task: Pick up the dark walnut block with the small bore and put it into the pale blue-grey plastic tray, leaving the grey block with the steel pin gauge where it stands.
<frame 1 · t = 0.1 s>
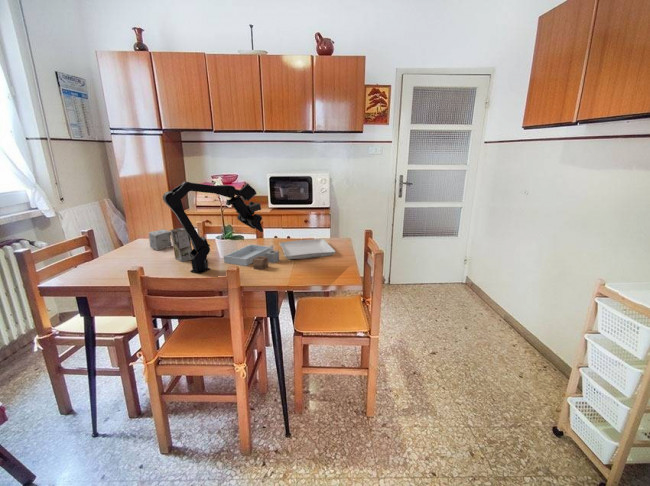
hand: (258, 230, 156), 15 cm above the table, tool tilted 30°, fingers open, 9 cm apart
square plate: (306, 252, 168), on the table
tray: (249, 257, 159), on the table
walnut block: (261, 267, 145), on the table
gauged block: (272, 261, 153), on the table
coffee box: (184, 259, 160), on the table
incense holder: (162, 248, 181), on the table
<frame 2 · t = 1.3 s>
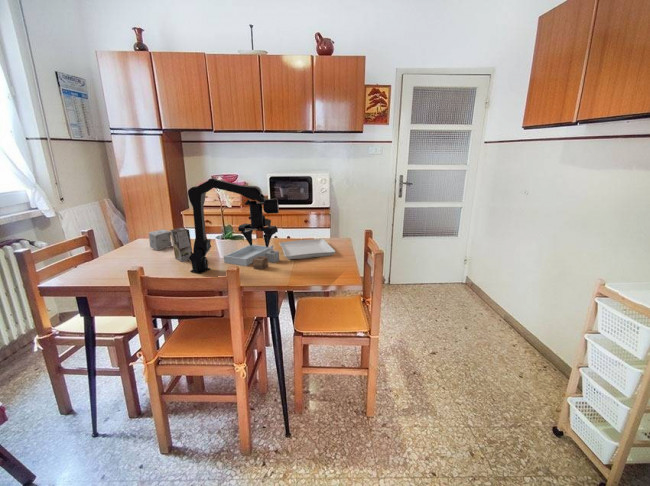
hand: (259, 246, 142), 11 cm above the table, tool pointing down, fingers open, 9 cm apart
nothing on the table moved.
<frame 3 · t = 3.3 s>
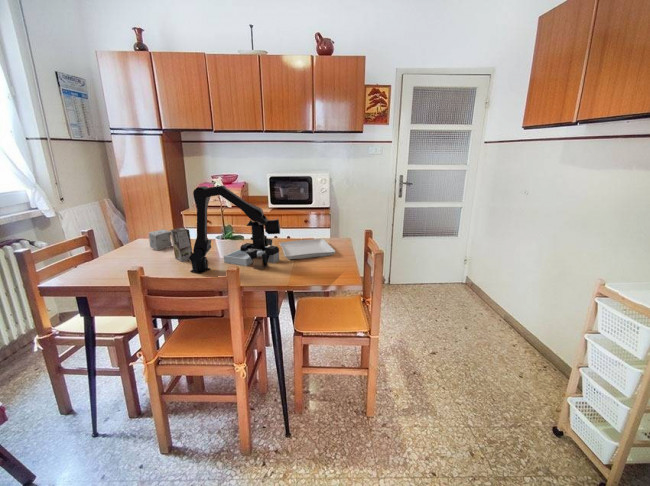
hand: (260, 265, 144), 1 cm above the table, tool pointing down, fingers closed on walnut block, 5 cm apart
walnut block: (261, 267, 145), on the table, touching gripper
everything else where it was.
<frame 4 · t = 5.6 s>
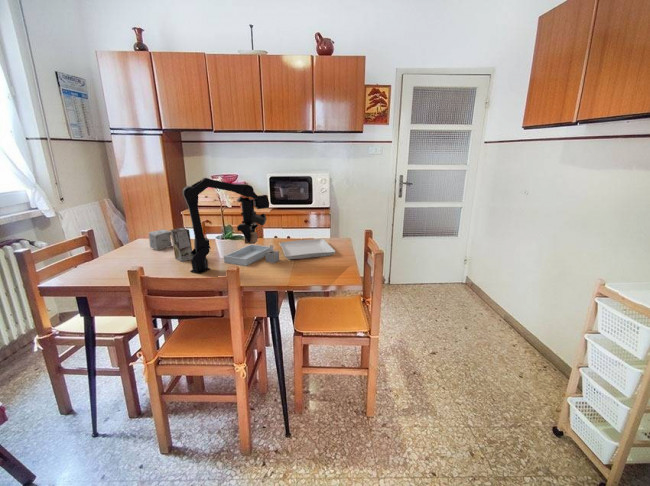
hand: (250, 240, 152), 11 cm above the table, tool pointing down, fingers closed on walnut block, 5 cm apart
walnut block: (251, 242, 152), point 10 cm above the table, touching gripper
everything else where it was.
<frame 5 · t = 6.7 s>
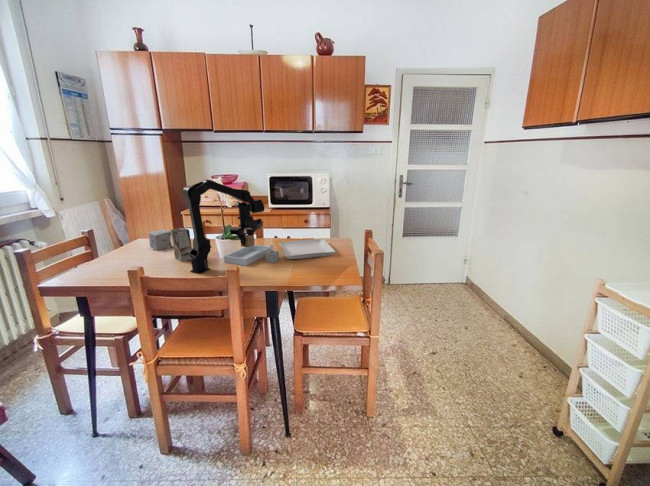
hand: (247, 243, 157), 8 cm above the table, tool pointing down, fingers closed on walnut block, 5 cm apart
walnut block: (247, 245, 157), point 7 cm above the table, touching gripper
everything else where it was.
when the fingers open (3 cm above the table, at t = 7.9 s): walnut block drops 2 cm, resting on tray.
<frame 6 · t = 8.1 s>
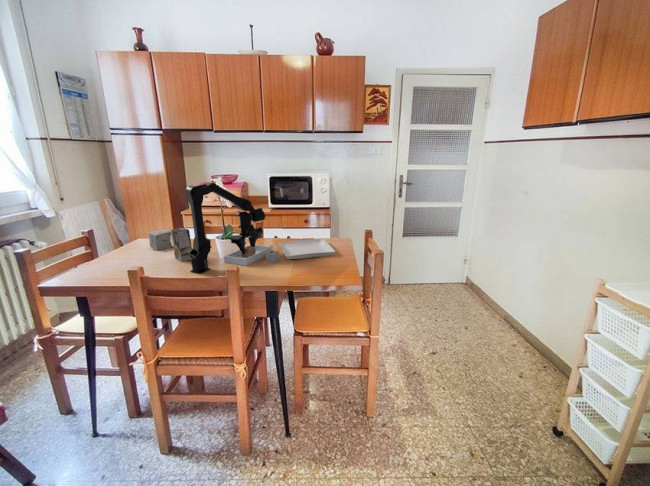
hand: (248, 252, 158), 3 cm above the table, tool pointing down, fingers open, 7 cm apart
walnut block: (249, 256, 159), point 1 cm above the table, touching tray
everything else where it was.
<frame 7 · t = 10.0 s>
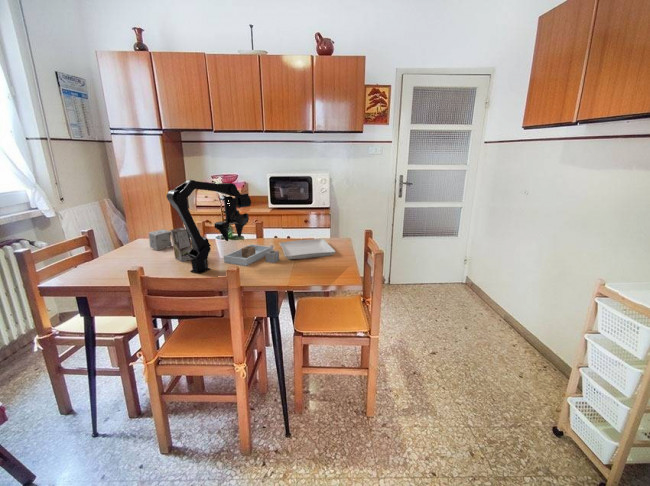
hand: (233, 239, 152), 12 cm above the table, tool pointing down, fingers open, 9 cm apart
nothing on the table moved.
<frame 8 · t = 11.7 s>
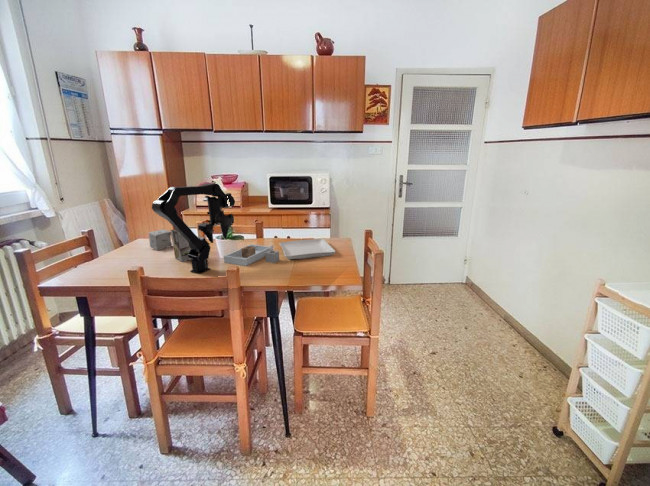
hand: (218, 240, 149), 12 cm above the table, tool pointing down, fingers open, 9 cm apart
nothing on the table moved.
at the end: walnut block inside the target area on the tray (0.0 cm from its centre), point 0.6 cm above the tray's base; the gripper is holding nothing; gauged block moved 0.1 cm from its start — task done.
